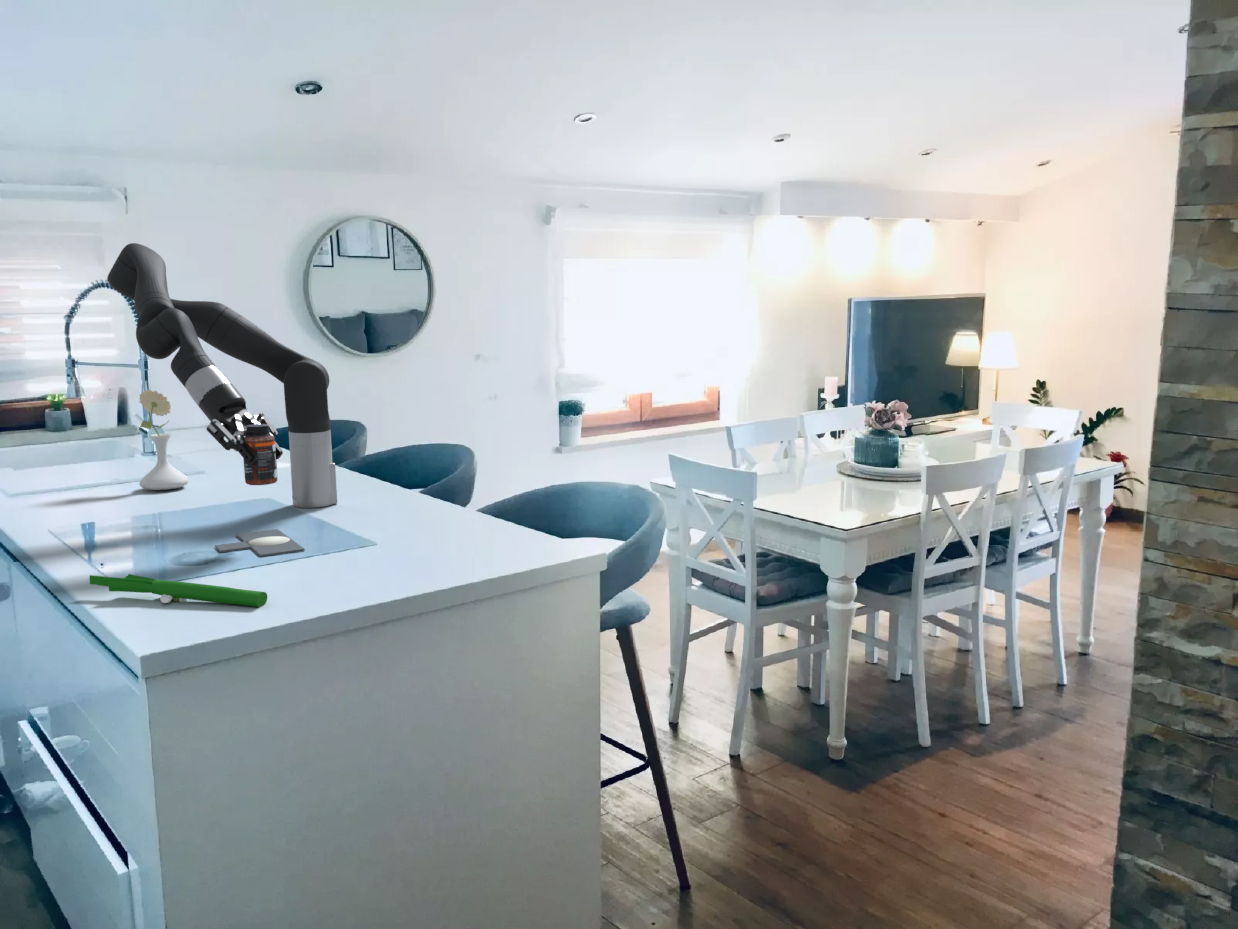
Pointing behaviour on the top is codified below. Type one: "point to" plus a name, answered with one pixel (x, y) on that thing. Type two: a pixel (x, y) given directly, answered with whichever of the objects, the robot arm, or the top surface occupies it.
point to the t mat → (263, 543)
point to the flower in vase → (159, 447)
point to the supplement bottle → (261, 456)
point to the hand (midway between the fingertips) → (267, 459)
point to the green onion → (182, 590)
